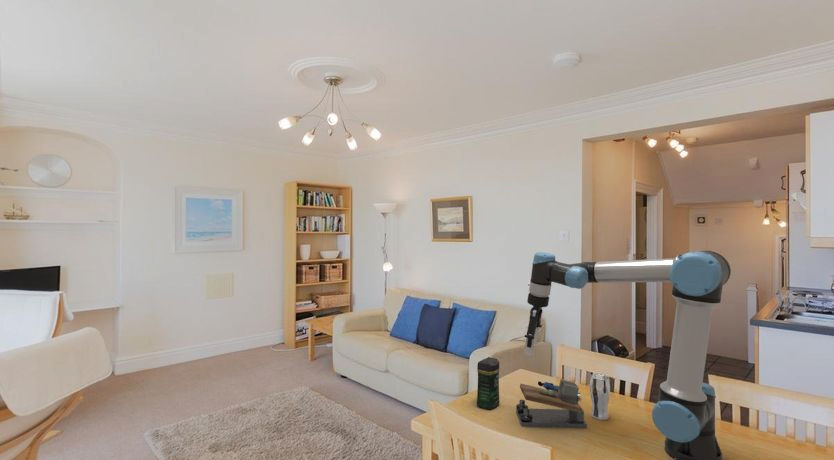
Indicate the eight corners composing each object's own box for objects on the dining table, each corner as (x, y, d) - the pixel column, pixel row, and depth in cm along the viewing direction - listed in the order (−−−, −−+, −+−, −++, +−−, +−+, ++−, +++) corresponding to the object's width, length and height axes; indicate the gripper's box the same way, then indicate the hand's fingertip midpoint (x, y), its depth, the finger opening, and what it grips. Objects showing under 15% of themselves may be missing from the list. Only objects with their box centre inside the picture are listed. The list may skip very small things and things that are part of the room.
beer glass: (589, 418, 158) (589, 378, 158) (590, 411, 164) (590, 372, 164) (609, 422, 154) (609, 381, 154) (610, 414, 161) (610, 375, 160)
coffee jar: (492, 411, 164) (492, 364, 164) (474, 406, 168) (474, 360, 168) (502, 403, 172) (502, 357, 172) (484, 398, 176) (484, 354, 176)
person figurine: (582, 400, 179) (540, 386, 188) (584, 390, 178) (542, 376, 188) (576, 409, 170) (532, 393, 179) (578, 398, 169) (534, 383, 179)
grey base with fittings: (587, 428, 149) (587, 413, 149) (521, 426, 151) (521, 411, 151) (576, 413, 162) (576, 399, 162) (515, 411, 163) (515, 397, 163)
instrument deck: (581, 412, 150) (585, 392, 150) (525, 399, 151) (529, 379, 151) (571, 399, 162) (575, 380, 162) (519, 387, 163) (523, 368, 163)
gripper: (533, 285, 168) (526, 336, 171) (523, 299, 146) (514, 357, 148) (552, 289, 165) (545, 341, 168) (545, 304, 143) (536, 363, 145)
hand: (530, 349), depth 158 cm, fingers open, 13 cm apart
